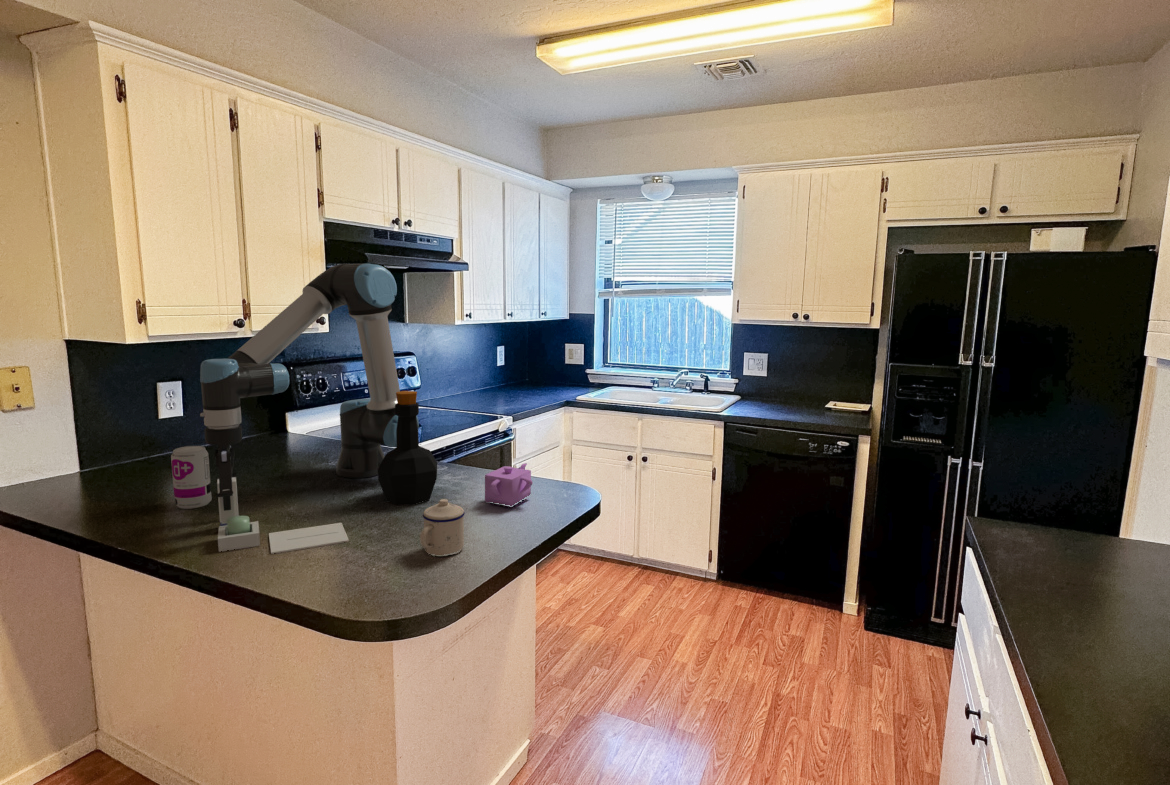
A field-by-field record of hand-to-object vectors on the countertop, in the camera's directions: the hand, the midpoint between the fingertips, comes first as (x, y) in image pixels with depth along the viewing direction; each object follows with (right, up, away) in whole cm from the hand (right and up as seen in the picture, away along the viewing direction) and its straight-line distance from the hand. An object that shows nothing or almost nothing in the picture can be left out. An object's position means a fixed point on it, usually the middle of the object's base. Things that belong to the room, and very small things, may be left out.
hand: (228, 513), depth 148 cm
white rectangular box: (0, -4, +1) cm, 4 cm away
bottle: (+36, -1, +25) cm, 44 cm away
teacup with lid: (+52, -7, -9) cm, 54 cm away
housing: (+6, -5, -7) cm, 11 cm away
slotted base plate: (+21, -5, -4) cm, 22 cm away
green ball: (+7, -3, -7) cm, 10 cm away
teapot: (+64, -2, +24) cm, 69 cm away
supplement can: (-19, -1, +16) cm, 25 cm away
